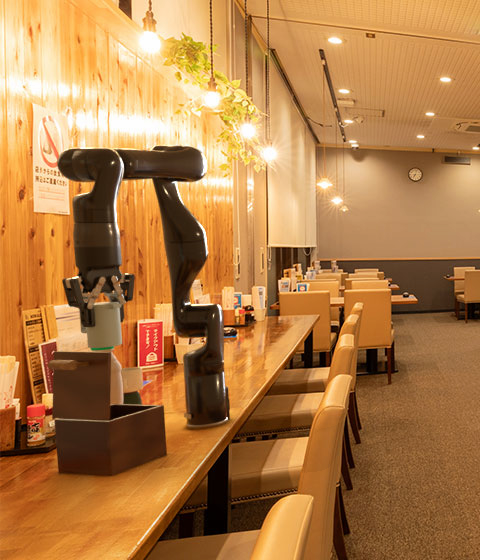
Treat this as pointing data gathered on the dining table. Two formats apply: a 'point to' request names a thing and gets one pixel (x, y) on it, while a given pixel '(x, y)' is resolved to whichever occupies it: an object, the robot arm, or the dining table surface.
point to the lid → (81, 385)
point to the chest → (111, 440)
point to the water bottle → (114, 376)
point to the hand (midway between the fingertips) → (103, 324)
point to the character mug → (132, 385)
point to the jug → (104, 326)
